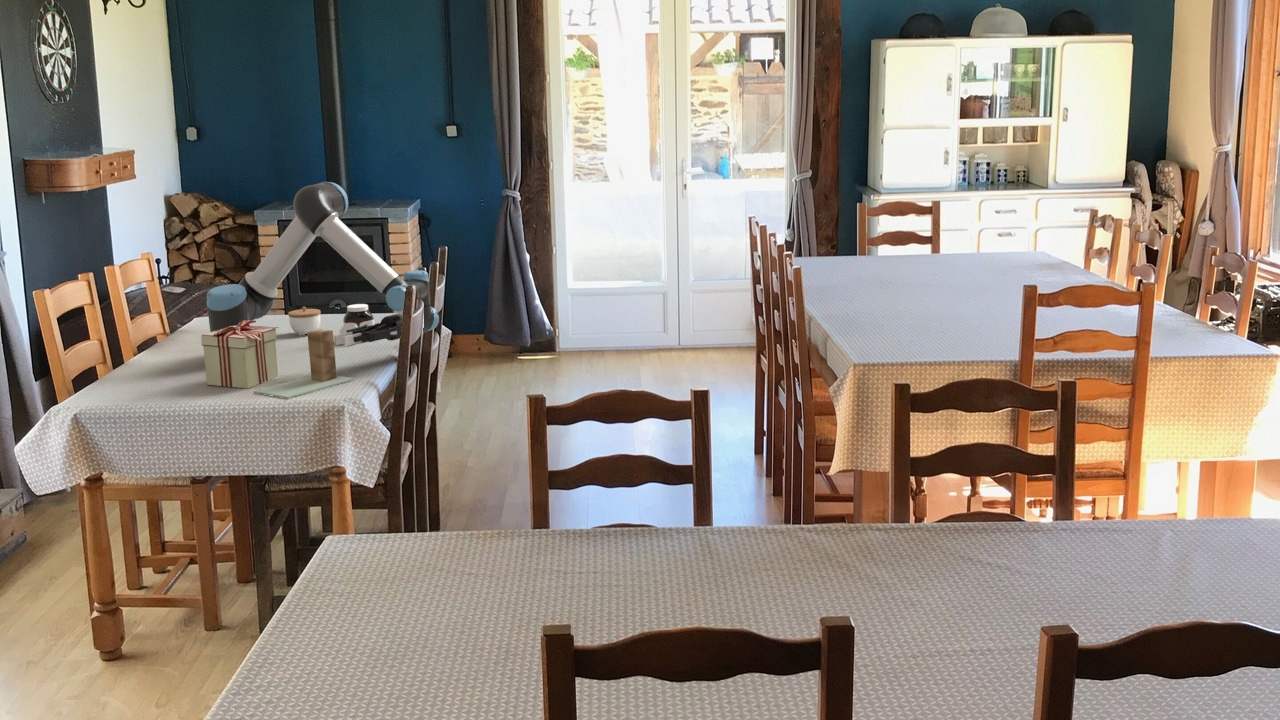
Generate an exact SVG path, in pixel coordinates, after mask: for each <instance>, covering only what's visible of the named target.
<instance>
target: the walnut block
mask: <svg viewBox="0 0 1280 720" xmlns="http://www.w3.org/2000/svg"><path fill="white" fill-rule="evenodd" d="M306 336H307V341H308V342H307V344H308V345H307V346H308V354H309V367H310V376H311V378H312V380H315V381H321V382H325V381H329V380H332V379H336V378H337V376H338V375H337V367H336V366H337V365H336V363H337V362H336V353H335V341H334V331H333V330H330V329H322V328H318V330H315V331H311V332H307V335H306Z"/></svg>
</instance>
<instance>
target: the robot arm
mask: <svg viewBox="0 0 1280 720" xmlns="http://www.w3.org/2000/svg"><path fill="white" fill-rule="evenodd" d="M292 207H293V211H294V216H295V217H294V218H293V219H292V220H291V222H290V223H289V225H288V226H287V227H286V229H285V230H284V231H283V233H282V234H281V235H280V237H279V238H278V239H277V241H276V242H275V243H274V245H273V246H272V247H271V248H270V249H269V251H268V252H267V254H266V255H265V256H264V258H263V259H262V260H261V262H260V263H259V264H258V266H257V267H256V269H255V270H254V271H248V272H247V273H245V275H244V276H243V277H242V279H241V280H240V281H239V283H232V284H222V285H219V286H216V287H213V288H211V289H209V290H208V292H207V293H206V307H207V316H208V324H209V325H208V326H209V333H210V332H213V331H217V330H220V329H224V328H227V327H229V326H237V324H239V323H240V322H241V321H243V320H254V321H256V320H257V319H260V318H263V317H265V316H266V315H267V314H268V313H270V311H271V310H272V308H273V306H274V304H275V300H276V297H278V295H279V292H278V287H279V286H280V285H281V284H282V282H283V280H284V279H285V278H286V277H287V275H288V274H289V273H290V271H291V270H292V269H293V268H294V267H295V265H297V262H298V261H299V259H300V258H301V257H302V256H303V254H305V252H306V251H307V249H308V248H309V246H311V244H312V243H313V241H314V240H315V239H316V237H321V238H322V239H323V240H324V241H325V242H326V243H328V245H329V246H331V248H333V250H335V251H336V252H337V253H338V254H339V255H340V256H341V257H342V258H343V259H345V261H346V262H347V263H348V264H349V265H351V266H352V267H353V268H354V269H355V270H356V271H357V272H358V273H359V274H361V276H362V277H363V278H365V280H367V282H369V283H370V284H371V285H372V286H373V287H374V288H375V289H376V290H378V292H379V293H380V294H382V295H383V296H384V297H385V301H386V305H387V307H389V308H390V309H391V310H393V311H394V312H395V311H396V312H398V313H395V314H390V315H387V316H384V317H383V318H382V319H381V321H380V323H379V322H377V323H374V325H371V326H368V325H367V324H366V325H363V326H361V327H357V328H354V329H350V330H347V331H346V333H343V334H336V335H333V339H334V346H338V345H342V344H343V345H342V346H343V347H348V346H351V345H355V344H360V343H366V342H369V343H372V342H377V341H381V340H384V339H385V340H386V341H390V342H392V341H396V340H399V339H401V338H400V336H401V327H402V313H403V312H404V310H403V308H404V299H405V291H406V287H408V286H412V285H415V286H416V290H417V297H418V298H420V299H422V300H423V302H424V328H423V333H428V332H429V331H432V330H434V329H436V328H437V326H438V325H439V323H440V317H439V316H440V315H439V314H438V312H437V311H438V310H437V309H436V308H435V307H433V306H431V294H430V292H431V291H430V279H429V273H428V272H427V271H426V270H420V269H419V270H417V269H416V270H409V271H406V272H404V273H403V278H402V277H401V276H400V275H399V274H398V273H397V272H396V271H395V270H394V269H393V268H392V267H391V266H390V265H388V264H387V262H386V261H384V259H382V258H381V257H380V256H379V255H378V254H377V253H376V252H375V251H374V250H373V249H372V248H370V247H369V246H368V245H367V244H366V243H365V242H364V241H363V240H362V238H360V237H359V236H358V235H357V234H355V232H354V231H353V230H352V229H350V228H349V227H348V226H347V225H346V224H345V223H344V222H343V221H342V220H341V219H340V218H341V217H342V216H344V215H345V213H346V212H347V210H348V209H349V208H348V207H349V199H348V194H347V193H346V190H344V188H342V186H340V185H339V184H337V183H335V182H331V181H330V182H329V181H321V182H319V183H315V184H310V185H307V186H304V187H302V188H301V189H299V190H298V191H297V192H296V194H295V195H294V199H293V206H292ZM401 311H402V312H401ZM362 341H363V342H362Z"/></svg>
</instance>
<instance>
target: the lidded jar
mask: <svg viewBox="0 0 1280 720" xmlns="http://www.w3.org/2000/svg"><path fill="white" fill-rule="evenodd" d="M287 313H288V315H287V316H288V320H289V325H290V328H291V329H292V331H293V332H294V333H295V334H296V335H297V334H300V335H299V336H306V335H305V334H307V332H311V331H315V330H319V329H320V327H321V322H322V321H321V319H322V317H321V313H322V312H321V310H320V309H317V308H307V307H306V306H302V308H300V309H295V310H291V311H288V312H287Z"/></svg>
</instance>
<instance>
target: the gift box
mask: <svg viewBox="0 0 1280 720" xmlns="http://www.w3.org/2000/svg"><path fill="white" fill-rule="evenodd" d="M256 322H257V320H243V321H241V322H240V323H239V324H237V326H229V327H227V328H224V329H220V330H217V331H213V332H210V331H209V332H206V333H202V334H201V335H200V339H201V340H200V341H201V342H200V343H201V346H203V355H204V366H205V367H204V368H205V377H206V378H205V379H206V385H207V386H208V385H209V386H215V387H223V388H224V387H225V388H235V387H236V388H237V389H246V388H247V389H250V387H251V388H254V387H255V385H256V386H259V385H261V383H262V384H264V383H263V382H265V381H267V382H269V381H268V380H270V381H272V380H271V379H273V380H275V379H277V378H276V377H278V378H279V374H278V373H279V371H278V361H277V360H278V359H277V346H276V345H277V344H276V340H277V330H276V329H279V328H280V327H278V326H276V327H273V326H264V325H263V326H262V325H261V326H259V325H258V326H257V325H256V326H255V325H250V324H253V323H256ZM274 378H275V379H274ZM265 383H266V382H265ZM258 384H259V385H258ZM253 386H254V387H253ZM236 388H235V389H236Z"/></svg>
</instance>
